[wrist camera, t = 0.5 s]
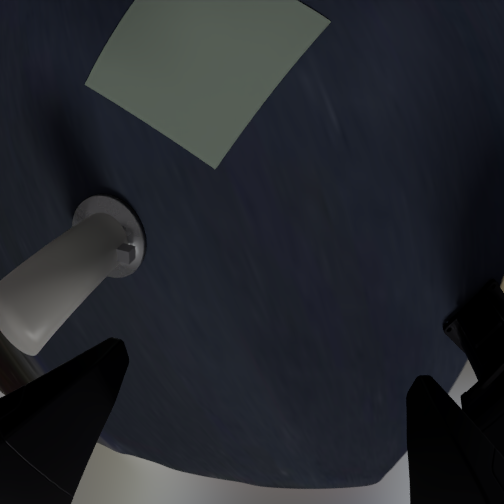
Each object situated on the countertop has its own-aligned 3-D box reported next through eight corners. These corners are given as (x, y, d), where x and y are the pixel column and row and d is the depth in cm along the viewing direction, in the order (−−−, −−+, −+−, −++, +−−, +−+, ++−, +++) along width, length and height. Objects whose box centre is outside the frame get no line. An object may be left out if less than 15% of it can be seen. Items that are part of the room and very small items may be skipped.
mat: (330, 22, 13) (330, 21, 13) (216, 168, 18) (215, 169, 18) (178, -49, 11) (176, -50, 11) (87, 84, 16) (84, 84, 16)
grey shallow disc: (148, 201, 20) (144, 204, 19) (146, 283, 23) (143, 287, 23) (74, 188, 20) (70, 190, 20) (80, 262, 23) (76, 266, 23)
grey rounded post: (140, 220, 20) (38, 312, 10) (139, 272, 22) (60, 373, 12) (73, 206, 20) (-30, 274, 11) (77, 254, 22) (-8, 332, 13)
